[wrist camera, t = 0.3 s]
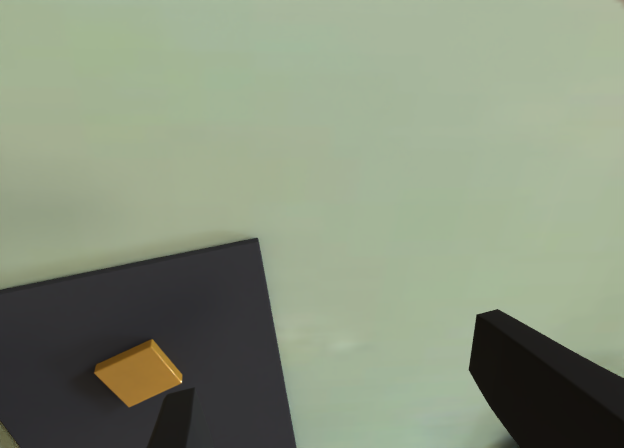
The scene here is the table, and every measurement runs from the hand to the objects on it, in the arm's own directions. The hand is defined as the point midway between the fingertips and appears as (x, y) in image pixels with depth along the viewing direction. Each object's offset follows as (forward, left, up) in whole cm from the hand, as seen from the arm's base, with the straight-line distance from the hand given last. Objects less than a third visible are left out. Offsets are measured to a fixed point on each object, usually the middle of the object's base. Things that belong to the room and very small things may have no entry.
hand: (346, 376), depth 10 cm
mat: (-10, +8, -10) cm, 16 cm away
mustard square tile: (-7, +8, -10) cm, 15 cm away
